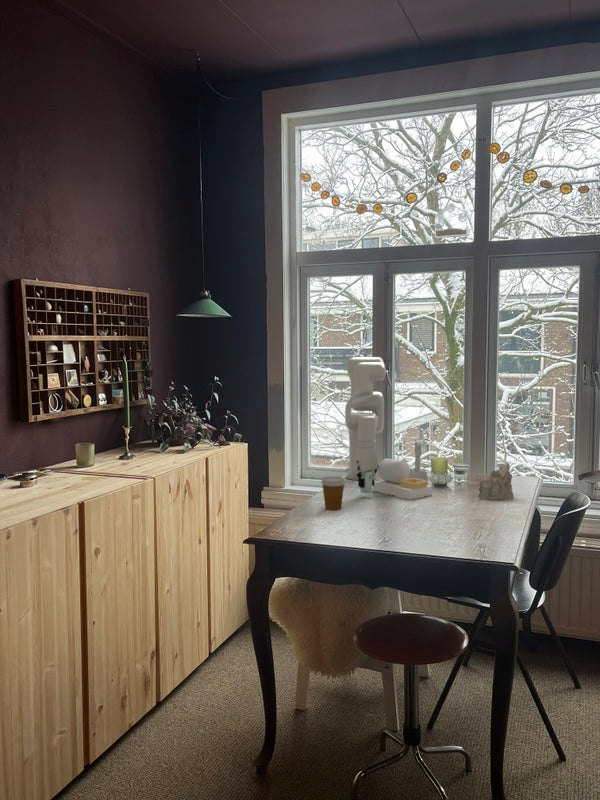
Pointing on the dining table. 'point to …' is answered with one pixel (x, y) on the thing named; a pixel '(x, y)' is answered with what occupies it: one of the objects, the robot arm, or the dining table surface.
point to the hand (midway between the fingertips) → (366, 485)
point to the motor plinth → (400, 480)
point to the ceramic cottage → (497, 485)
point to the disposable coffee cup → (333, 492)
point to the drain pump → (367, 482)
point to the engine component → (418, 465)
